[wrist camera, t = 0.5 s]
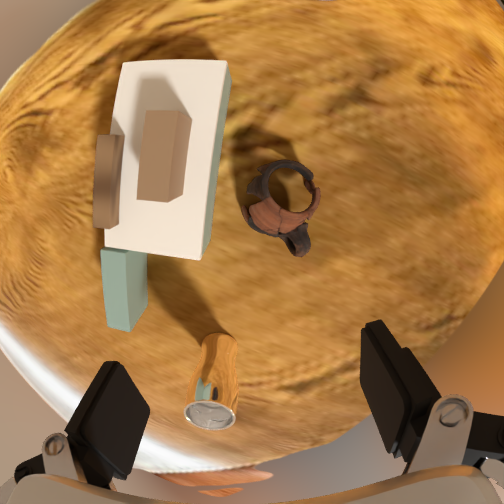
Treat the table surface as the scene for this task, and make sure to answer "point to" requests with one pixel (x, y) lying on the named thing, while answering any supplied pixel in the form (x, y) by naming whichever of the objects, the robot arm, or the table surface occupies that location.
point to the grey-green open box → (135, 263)
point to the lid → (165, 153)
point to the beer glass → (214, 385)
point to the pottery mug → (281, 209)
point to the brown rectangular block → (107, 180)
